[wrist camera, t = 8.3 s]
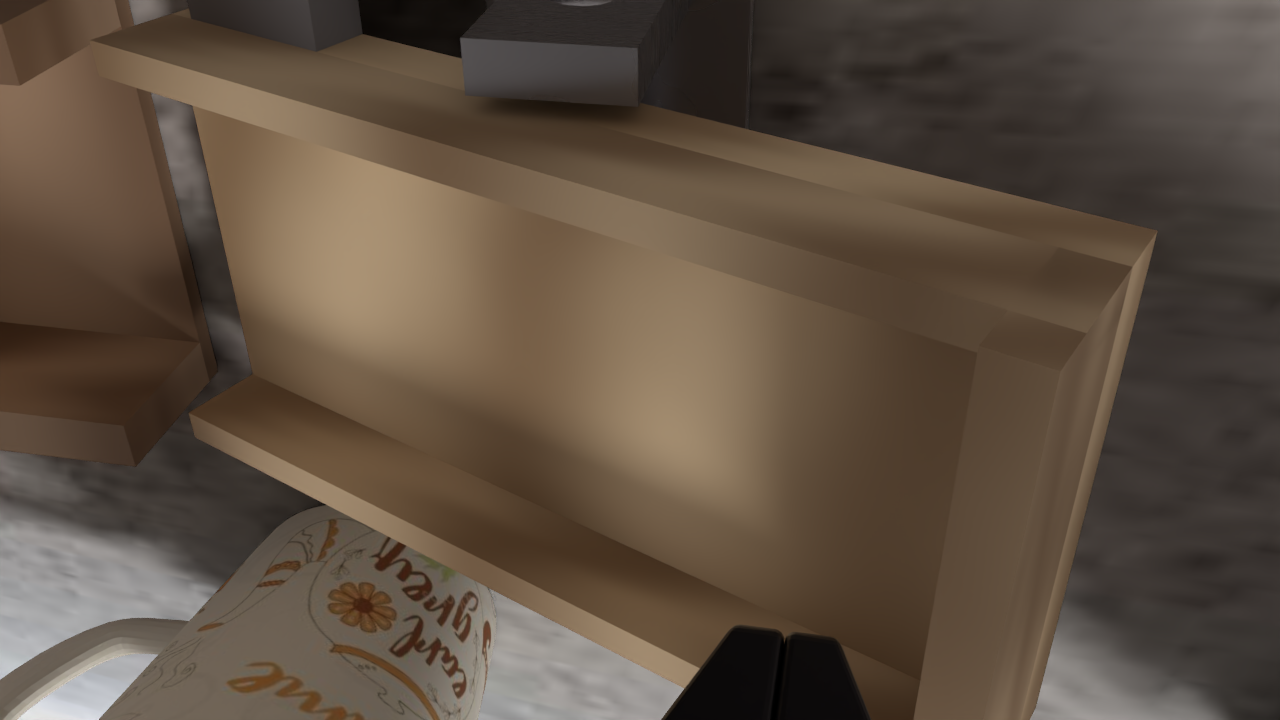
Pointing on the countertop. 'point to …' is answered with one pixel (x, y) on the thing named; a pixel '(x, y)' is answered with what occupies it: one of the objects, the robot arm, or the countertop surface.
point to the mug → (298, 638)
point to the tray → (88, 248)
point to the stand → (616, 54)
